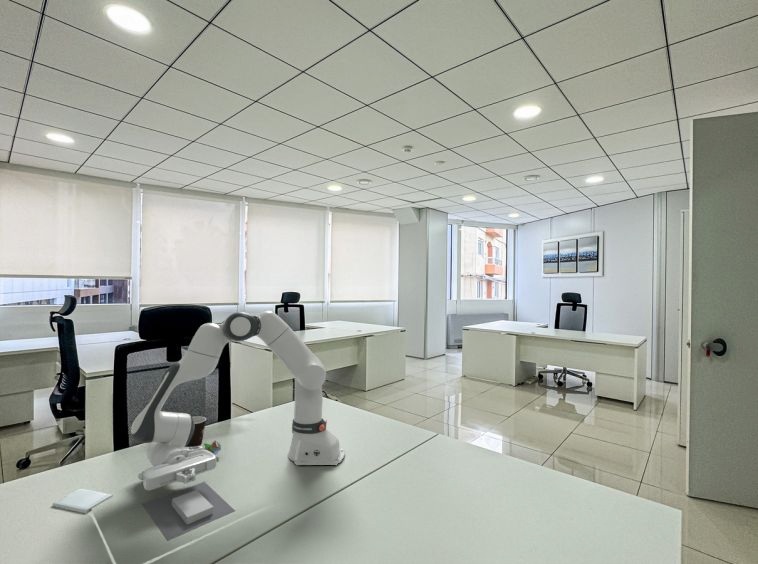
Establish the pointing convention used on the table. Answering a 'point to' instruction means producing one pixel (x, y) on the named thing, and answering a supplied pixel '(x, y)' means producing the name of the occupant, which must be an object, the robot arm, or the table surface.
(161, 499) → the mat
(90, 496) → the hard drive
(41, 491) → the table surface
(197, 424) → the coffee mug
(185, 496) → the tile
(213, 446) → the geometric puzzle
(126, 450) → the table surface
